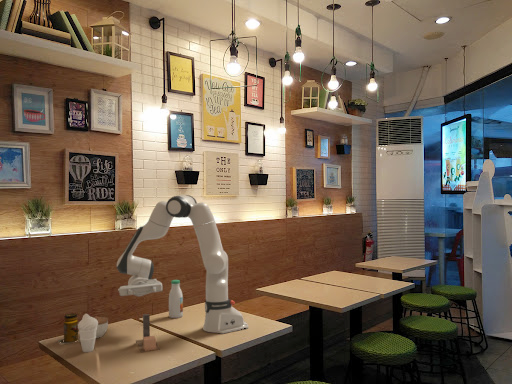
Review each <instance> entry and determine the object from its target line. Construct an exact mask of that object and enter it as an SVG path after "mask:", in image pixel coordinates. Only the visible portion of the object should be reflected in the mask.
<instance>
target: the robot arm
mask: <svg viewBox="0 0 512 384" xmlns="http://www.w3.org/2000/svg"><path fill="white" fill-rule="evenodd" d="M174 218H181V219H182V218H183V219H185V218H189V219H190V221H191V223H192V226H193V229H194V233H195V235H196V238H197V242H198V245H199V250H200V254H201V259H202V263H203V266H204V269H205V271H206V276H205V300H204V312H205V315H204V317H205V318H204V322H203V323H204V324H203V328H202V330H203V331H205V332H209V333H219V334H227V333H231V332H237V331H240V330H241V329H242V330H245V329H244V328H246V329H249V323H247V322H246V321H244V316H243V314H242V313H241V312H240V311H239V310H237V308H235V307H233V306H234V305H235V304H236V302H235V301H234V300H232V299H229V286H228V285H229V283H228V281H229V256H228V254H227V252H226V251H225V250H224V248H223V245H222V241H221V236H220V232H219V229H218V226H217V223H216V220H215V218H214V215H213V212H212V211H211V208H210V206H209V204H207V203H206V202H197V200H196V198H194V197H193V196H191V195H189V194H188V195H187V194H185V195H184V194H179V195H174V196H172V197H170V198H169V199H168V200H166V201H164V200H161V201H158V202H157V203H156V205H155V206H154V208H153V209H152V212H151V214H150V216H149V218H148V220H147V222H146V223H144V225H143V226H140V227H138V228H137V229H136V231H135V233H134V234H133V235H132V238H131V239H130V241H129V242H128V244H127V246H126V248H125V249H124V251H123V252H122V254H121V255H120V256H119V258H118V260H117V262H116V269H117V271H118V272H119V273H120V274H123V275H124V274H125V275H129V276H130V277H129V279H128V282H127V285H121V286H119V288H118V289H117V291H118V292H119V296H121V297H124V296H132V295H133V296H136V297H143V296H145V295H148V294H152V293H158V292H163V283H162V282H161V281H159V280H157V278H152V277H153V275H154V270H155V266H154V262H153V261H152V260H151V259H148V258H145V257H144V258H143V257H140V256H136V255H133V254H134V253H135V251H136V249H137V247H138V245H139V244H140V243H141V242H143V241H147V240H149V241H150V240H157V239H158V240H159V239H162V238H164V237H165V236H166V235H167V234H168V231H169V229H170V228H171V227H170V226H171V223H172V221H173V219H174ZM242 330H241V331H242Z"/></svg>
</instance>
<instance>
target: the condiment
mask: <svg viewBox="0 0 512 384" xmlns="http://www.w3.org/2000/svg"><path fill="white" fill-rule="evenodd" d="M78 324H79V320H78V314H77V313H67V314H65V315H64V321H63V339H57V342H58V343H59V345H60V346H62V345H65V344H71V342H73V343H76V342H75V341H77V340H78V339H79V329H78ZM63 340H64V342H63ZM60 342H61V343H60ZM79 342H81V341H80V339H79V340H78V342H77V343H79ZM73 343H72V344H73Z"/></svg>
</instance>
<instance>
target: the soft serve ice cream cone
mask: <svg viewBox="0 0 512 384" xmlns="http://www.w3.org/2000/svg"><path fill="white" fill-rule="evenodd" d="M97 326H98V321H97V319H95V317H93V316H90V315H89V314H88V313H84V315H83V316H82V319H81V320H80V321H78V334H79V340H80V341H79V342H80V344H81V345H80V346H81V349H82V353H91V352H93V351H94V348H95V343H96V339H97V338H96V330H97Z"/></svg>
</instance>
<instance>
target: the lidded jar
mask: <svg viewBox="0 0 512 384" xmlns="http://www.w3.org/2000/svg"><path fill="white" fill-rule="evenodd" d="M94 318H95V319H97V321H98V326H97V330H96V339H99V337H100V338H102V337H104V335H105V334H106V333H107V330H108V325H109V318H108V317H105V316H96V315H95V316H94Z"/></svg>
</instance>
